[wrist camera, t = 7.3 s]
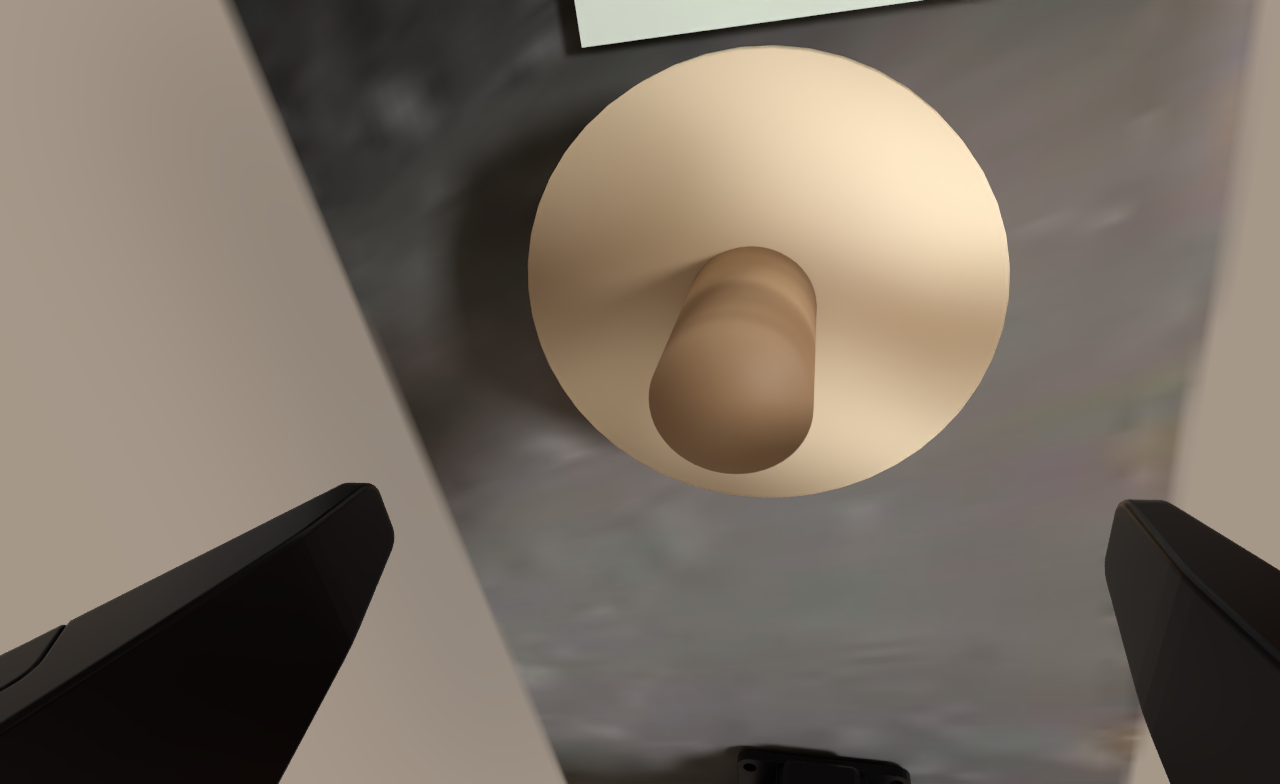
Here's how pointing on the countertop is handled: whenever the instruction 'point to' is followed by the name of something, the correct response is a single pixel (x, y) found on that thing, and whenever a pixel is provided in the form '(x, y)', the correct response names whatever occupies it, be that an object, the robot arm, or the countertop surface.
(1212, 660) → the robot arm
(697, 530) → the countertop surface
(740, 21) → the mat
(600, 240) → the lid
